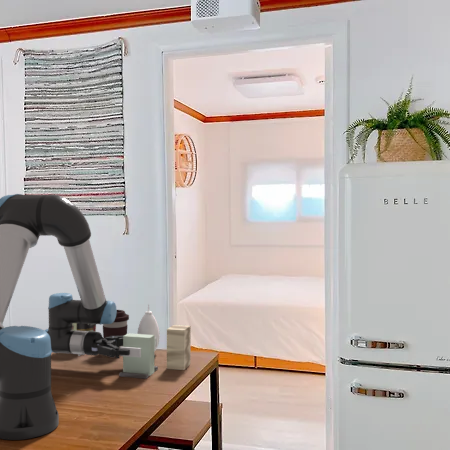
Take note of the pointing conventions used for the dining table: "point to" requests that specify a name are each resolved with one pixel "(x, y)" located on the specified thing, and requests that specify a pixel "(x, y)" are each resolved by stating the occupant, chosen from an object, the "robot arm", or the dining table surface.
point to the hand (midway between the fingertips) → (148, 347)
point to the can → (84, 327)
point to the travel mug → (117, 325)
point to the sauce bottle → (149, 326)
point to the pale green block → (147, 353)
